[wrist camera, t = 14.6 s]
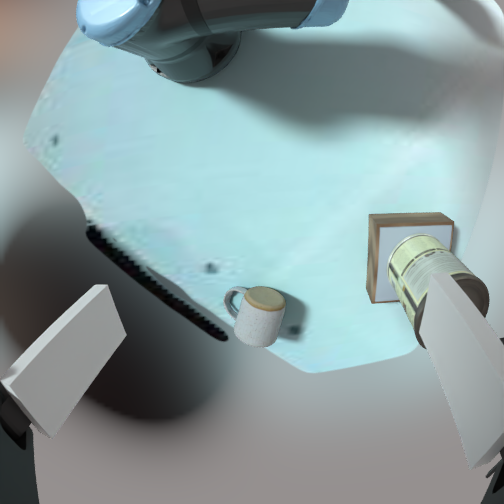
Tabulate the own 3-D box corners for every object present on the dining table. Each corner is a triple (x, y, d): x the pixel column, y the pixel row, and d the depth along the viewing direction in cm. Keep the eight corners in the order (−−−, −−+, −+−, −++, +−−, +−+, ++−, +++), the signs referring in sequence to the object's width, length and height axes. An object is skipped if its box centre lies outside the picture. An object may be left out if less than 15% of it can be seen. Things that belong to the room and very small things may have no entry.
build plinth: (368, 214, 43) (377, 224, 38) (440, 212, 40) (454, 222, 35) (365, 287, 48) (372, 304, 43) (432, 282, 45) (443, 297, 40)
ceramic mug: (289, 289, 50) (286, 314, 43) (278, 326, 53) (274, 353, 46) (229, 274, 51) (217, 297, 44) (222, 312, 54) (211, 337, 47)
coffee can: (456, 258, 37) (500, 306, 25) (413, 304, 42) (443, 363, 29) (418, 217, 36) (464, 258, 24) (372, 270, 40) (398, 328, 28)
